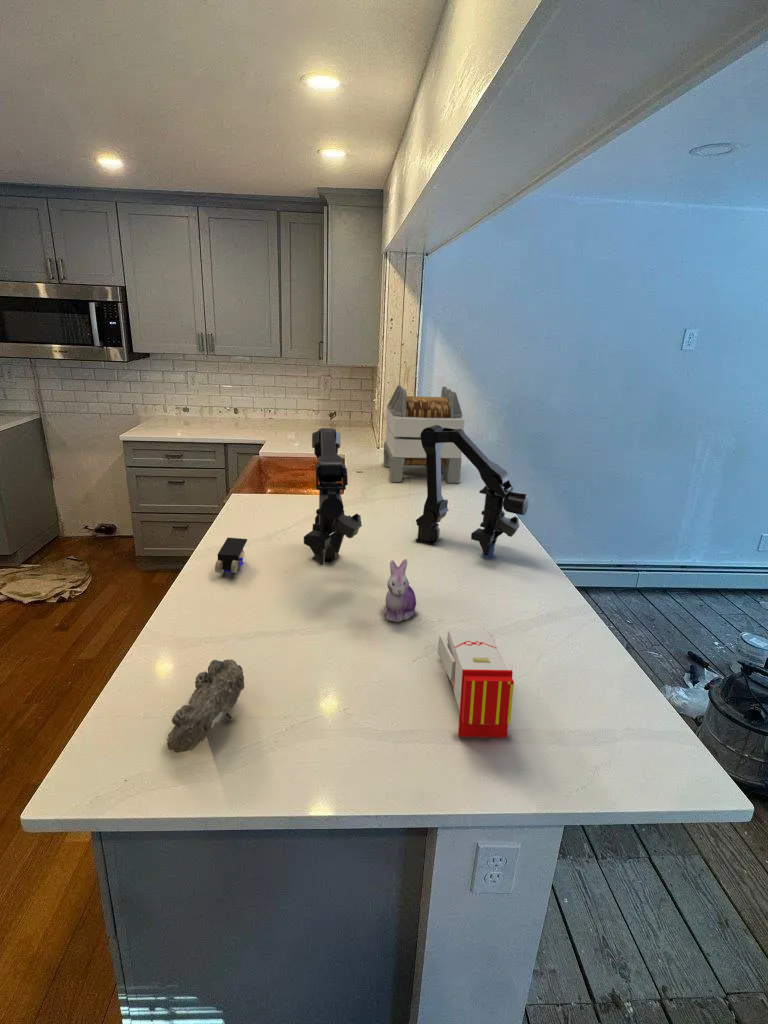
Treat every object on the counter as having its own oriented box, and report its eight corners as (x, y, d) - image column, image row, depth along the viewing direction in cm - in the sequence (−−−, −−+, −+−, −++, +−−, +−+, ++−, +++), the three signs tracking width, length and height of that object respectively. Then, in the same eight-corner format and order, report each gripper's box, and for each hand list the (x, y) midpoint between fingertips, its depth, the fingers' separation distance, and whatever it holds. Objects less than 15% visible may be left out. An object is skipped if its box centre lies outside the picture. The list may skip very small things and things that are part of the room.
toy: (488, 613, 130) (523, 677, 101) (484, 667, 133) (517, 744, 104) (435, 612, 130) (455, 676, 101) (432, 666, 133) (451, 743, 103)
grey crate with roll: (382, 463, 289) (386, 382, 275) (445, 464, 293) (451, 384, 279) (390, 482, 257) (394, 392, 243) (460, 483, 261) (468, 394, 247)
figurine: (392, 627, 141) (395, 572, 136) (374, 608, 149) (376, 556, 144) (425, 619, 145) (429, 566, 140) (405, 601, 154) (408, 550, 149)
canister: (490, 559, 183) (492, 546, 181) (480, 556, 184) (482, 543, 183) (495, 556, 185) (496, 543, 184) (485, 553, 187) (486, 540, 186)
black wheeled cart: (238, 584, 162) (249, 557, 175) (236, 562, 158) (247, 536, 172) (215, 584, 161) (227, 556, 175) (212, 561, 158) (225, 535, 171)
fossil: (192, 660, 117) (244, 628, 112) (224, 691, 120) (276, 661, 115) (142, 746, 98) (202, 712, 93) (182, 779, 101) (242, 748, 96)
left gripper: (341, 521, 141) (340, 578, 147) (371, 500, 158) (369, 552, 163) (302, 514, 145) (302, 569, 150) (335, 494, 161) (334, 544, 167)
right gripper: (507, 522, 168) (501, 569, 173) (527, 505, 183) (521, 550, 188) (472, 514, 173) (468, 560, 178) (494, 499, 188) (489, 542, 194)
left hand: (329, 558), depth 157 cm, fingers open, 9 cm apart
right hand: (488, 553), depth 185 cm, fingers closed on canister, 3 cm apart
